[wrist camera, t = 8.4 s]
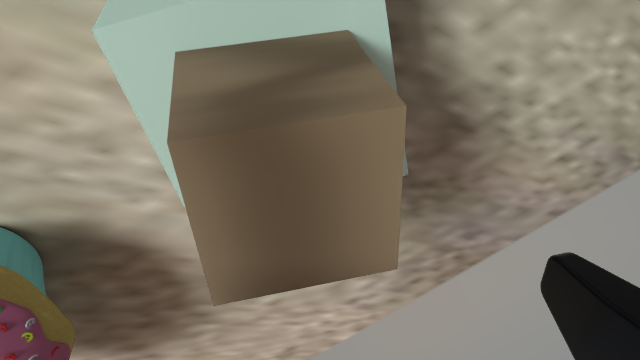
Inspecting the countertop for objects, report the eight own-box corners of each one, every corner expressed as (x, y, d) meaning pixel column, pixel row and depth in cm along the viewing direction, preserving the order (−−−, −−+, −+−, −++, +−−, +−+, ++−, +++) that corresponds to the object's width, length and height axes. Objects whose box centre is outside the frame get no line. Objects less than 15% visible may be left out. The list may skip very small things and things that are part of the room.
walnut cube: (347, 30, 14) (407, 106, 10) (350, 168, 17) (397, 269, 13) (175, 51, 13) (166, 142, 10) (209, 191, 16) (213, 305, 12)
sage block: (341, -75, 16) (377, -54, 13) (376, 123, 21) (408, 174, 18) (112, -8, 16) (91, 30, 13) (200, 177, 21) (201, 239, 18)
